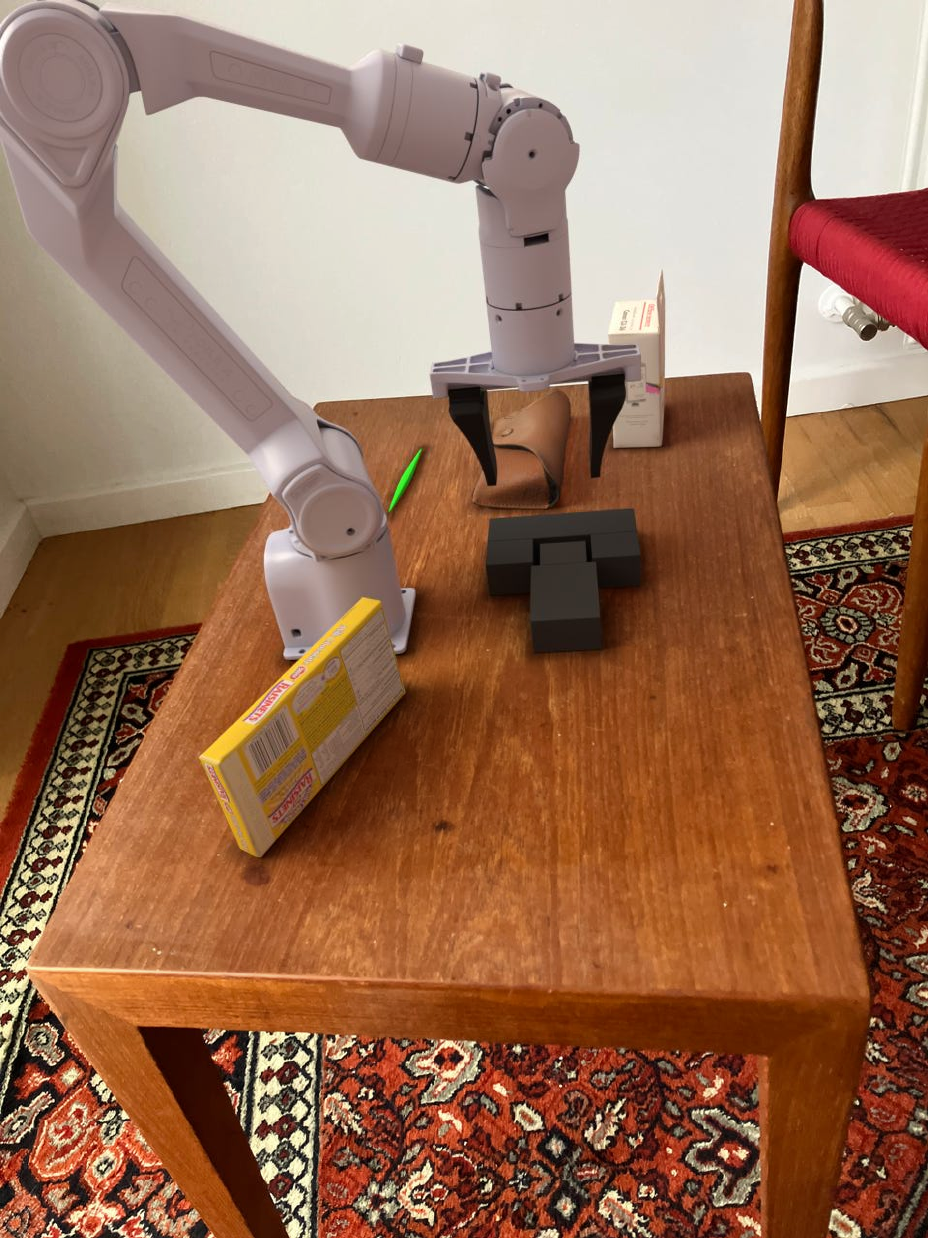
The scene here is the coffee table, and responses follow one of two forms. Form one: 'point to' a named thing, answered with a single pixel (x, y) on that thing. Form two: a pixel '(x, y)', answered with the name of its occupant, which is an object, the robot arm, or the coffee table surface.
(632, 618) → the coffee table surface
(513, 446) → the sunglasses case
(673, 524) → the coffee table surface
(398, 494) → the green spindle
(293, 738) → the candy box
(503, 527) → the notch pad
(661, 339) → the ink cartridge box
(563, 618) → the pad
